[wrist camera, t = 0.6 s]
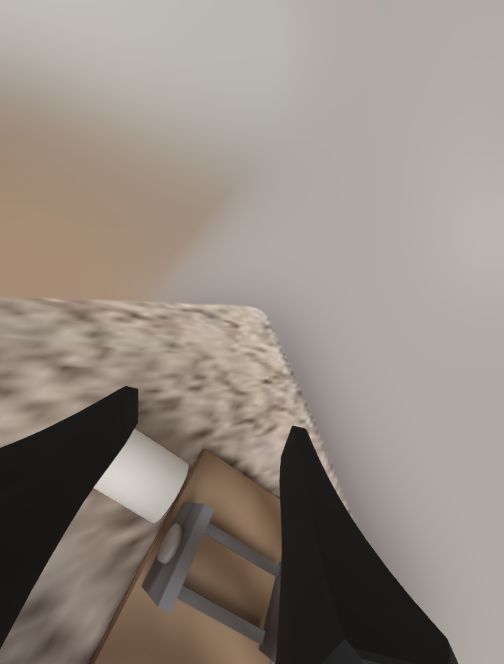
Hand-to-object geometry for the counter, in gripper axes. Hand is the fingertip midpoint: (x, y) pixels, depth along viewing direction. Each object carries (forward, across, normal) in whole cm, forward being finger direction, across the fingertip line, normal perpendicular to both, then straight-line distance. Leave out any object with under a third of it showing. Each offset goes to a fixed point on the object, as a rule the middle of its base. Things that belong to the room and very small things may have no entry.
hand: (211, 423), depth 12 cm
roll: (+6, +8, +14) cm, 18 cm away
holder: (+3, -3, +21) cm, 22 cm away
